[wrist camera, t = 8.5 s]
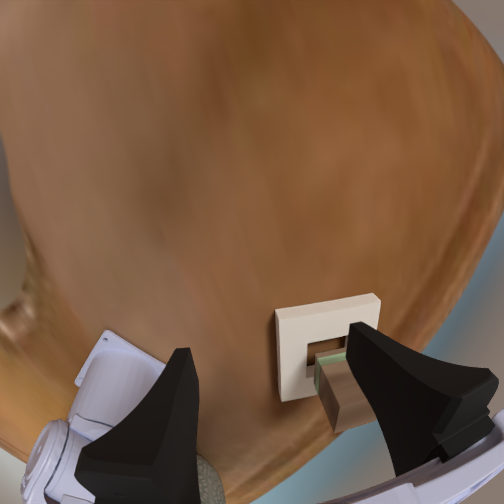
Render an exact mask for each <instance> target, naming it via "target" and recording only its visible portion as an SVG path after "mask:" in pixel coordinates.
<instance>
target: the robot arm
mask: <svg viewBox="0 0 504 504" xmlns="http://www.w3.org/2000/svg"><path fill="white" fill-rule="evenodd" d="M105 338H107V339H108V340H106V339H105ZM345 357H346V360H347V363H348V365H349V368H350V370H351V372H352V375H353V376H354V378H355V380H356V382H357V383H358V385H359V387H360V388H361V390H362V392H363V394H364V395H365V397H366V399H367V400H368V402H369V404H370V406H371V407H372V409H373V411H374V413H375V415H376V418H377V420H378V422H379V425H380V427H381V430H382V432H383V435H384V438H385V441H386V443H387V446H388V449H389V453H390V456H391V459H392V463H393V467H394V470H395V475H396V478H393V479H391V480H389V481H386V482H384V483H381V484H379V485H376V486H373V487H370V488H368V489H365V490H362V491H359V492H356V493H353V494H350V495H347V496H344V497H340V498H337V499H334V500H330V501H326V502H322V503H318V504H458V503H460V502H461V501H462V500H464V499H465V498H467V497H468V496H470V495H471V494H472V493H474V492H475V491H476V490H478V489H479V488H480V487H481V486H483V485H484V484H485V483H487V482H488V481H489V480H491V479H492V478H493V477H494V476H495V475H496V474H498V473H499V472H500V471H501V470H503V469H504V408H503V409H502V410H500V411H499V412H498V413H497V414H495V415H494V416H493V417H492V418H491V419H490V417H489V416H488V414H489V413H490V410H489V409H488V408H487V405H488V404H489V402H490V400H491V399H492V397H493V395H494V394H495V392H496V390H497V388H498V384H499V379H498V378H497V377H496V376H495V375H494V374H493V373H492V372H491V371H490V370H489V369H488V368H477V367H467V366H461V365H456V364H451V363H447V362H444V361H440V360H437V359H434V358H431V357H428V356H426V355H423V354H421V353H418V352H416V351H414V350H412V349H410V348H408V347H406V346H404V345H402V344H400V343H398V342H396V341H394V340H393V339H391V338H389V337H388V336H386V335H384V334H382V333H381V332H379V331H378V330H376V329H374V328H373V327H371V326H369V325H367V324H366V323H364V322H362V321H360V322H355V323H350V324H349V333H348V341H347V349H346V356H345ZM75 384H76V385H77V386H78V387H80V388H79V390H78V392H77V395H76V397H75V400H74V402H73V404H72V407H71V409H70V412H69V414H68V417H67V419H66V422H65V421H63V420H62V419H57V420H53V421H49V422H48V423H47V424H46V426H45V427H44V429H43V430H42V432H41V433H40V435H39V437H38V439H37V441H36V443H35V445H34V447H33V449H32V451H31V454H30V456H29V459H28V462H27V466H26V470H25V474H24V477H23V479H22V482H21V488H20V489H21V490H20V491H21V495H22V501H23V504H201V498H200V490H199V481H198V469H197V454H196V437H197V424H198V411H199V380H198V376H197V373H196V369H195V365H194V362H193V358H192V354H191V350H190V347H189V348H177V349H175V351H174V352H173V354H172V356H171V358H170V359H169V361H168V363H167V365H165V364H163V363H162V362H160V361H158V360H156V359H155V358H153V357H151V356H150V355H148V354H146V353H145V352H143V351H141V350H140V349H138V348H136V347H135V346H133V345H131V344H130V343H128V342H127V341H125V340H124V339H122V338H120V337H119V336H117V335H116V334H114V333H113V332H111V331H109V330H105V331H104V332H103V334H102V335H101V337H100V339H99V340H98V342H97V343H96V345H95V347H94V348H93V350H92V352H91V353H90V355H89V357H88V359H87V360H86V362H85V364H84V365H83V367H82V369H81V371H80V372H79V374H78V376H77V378H76V379H75Z"/></svg>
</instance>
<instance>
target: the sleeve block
mask: <svg viewBox="0 0 504 504" xmlns="http://www.w3.org/2000/svg"><path fill="white" fill-rule="evenodd" d="M380 305H381V301H380V300H379V299H378V298H377V297H376V296H375V295H374V294H373V293H369V294H364V295H359V296H353V297H348V298H343V299H337V300H331V301H325V302H320V303H314V304H307V305H301V306H295V307H288V308H281V309H275V319H276V341H277V364H278V390H279V394H280V398H281V402H283V401H289V400H294V399H300V398H304V397H309V396H314V395H318V394H317V392H316V389H315V385H314V369H315V365H311V366H307V343H312V342H317V341H322V340H327V339H332V338H337V337H341V336H346V338H345V347H347V341H348V333H349V324H350V323H355V322H360V321H362V322H364V323H366V324H367V325H369V326H371V327H373V328H374V329H376V330H377V324H378V318H379V312H380ZM345 347H344V348H345Z"/></svg>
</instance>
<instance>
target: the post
mask: <svg viewBox="0 0 504 504" xmlns="http://www.w3.org/2000/svg"><path fill="white" fill-rule="evenodd" d="M346 349H347V347H345V348H340V349H336V350H331V351H327V352H322V353H317V354H315V369H314V385H315V389H316V392H317V394H318V395H319V397H320V399H321V402H322V404H323V407H324V409H325V412H326V414H327V417H328V419H329V422H330V424H331V426H332V429H333V431H334V433H337V432H340V431H344V430H347V429H350V428H354V427H357V426H361V425H364V424H367V423H370V422H373V421H375V420H376V415H375V413H374V411H373V409H372V407H371V406H370V404H369V402H368V400H367V399H366V397H365V395H364V394H363V392H362V390H361V388H360V387H359V385H358V383H357V382H356V380H355V378H354V376H353V375H352V372H351V370H350V368H349V365H348V363H347V360H346V357H345V356H346Z"/></svg>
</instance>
